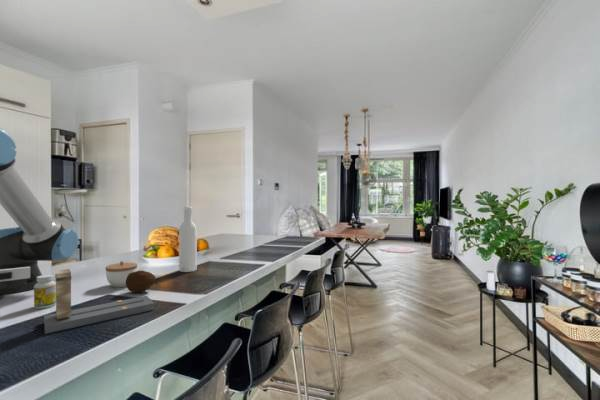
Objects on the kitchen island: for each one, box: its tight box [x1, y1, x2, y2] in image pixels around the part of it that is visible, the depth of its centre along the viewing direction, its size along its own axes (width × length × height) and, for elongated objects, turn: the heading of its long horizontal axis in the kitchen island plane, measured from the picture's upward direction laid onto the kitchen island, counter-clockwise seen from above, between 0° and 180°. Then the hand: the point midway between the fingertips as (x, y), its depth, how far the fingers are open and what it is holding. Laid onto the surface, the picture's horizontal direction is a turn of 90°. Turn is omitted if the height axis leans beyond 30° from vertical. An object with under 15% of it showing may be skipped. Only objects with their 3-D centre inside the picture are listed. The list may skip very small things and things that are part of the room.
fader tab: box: [54, 268, 72, 319], centre depth 83 cm, size 3×5×12 cm, turn 41°
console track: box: [43, 295, 155, 335], centre depth 89 cm, size 26×9×2 cm, turn 131°
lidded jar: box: [105, 260, 138, 288], centre depth 119 cm, size 11×11×9 cm
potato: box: [125, 270, 157, 293], centre depth 111 cm, size 7×10×8 cm
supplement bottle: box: [33, 274, 56, 310], centre depth 96 cm, size 5×5×10 cm
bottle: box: [178, 206, 198, 273], centre depth 143 cm, size 8×8×30 cm
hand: (30, 272), depth 78 cm, fingers closed
